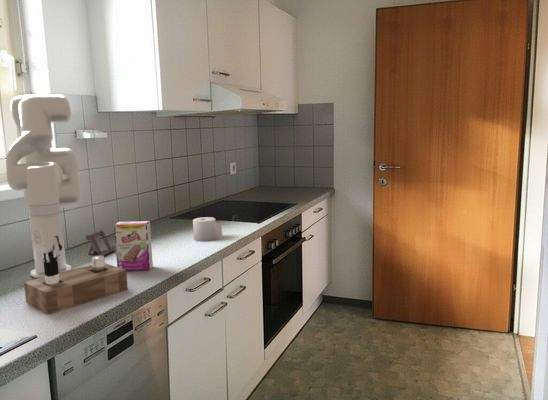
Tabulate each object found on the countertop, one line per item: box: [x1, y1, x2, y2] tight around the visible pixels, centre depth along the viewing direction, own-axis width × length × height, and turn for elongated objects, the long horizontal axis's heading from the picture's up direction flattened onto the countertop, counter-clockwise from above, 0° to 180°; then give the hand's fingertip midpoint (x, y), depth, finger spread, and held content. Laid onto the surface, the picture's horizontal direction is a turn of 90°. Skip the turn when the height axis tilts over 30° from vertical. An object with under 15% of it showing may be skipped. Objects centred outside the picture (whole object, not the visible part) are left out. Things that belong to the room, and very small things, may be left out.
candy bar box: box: [113, 220, 154, 272], centre depth 165 cm, size 11×5×16 cm, turn 92°
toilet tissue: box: [192, 216, 224, 243], centre depth 207 cm, size 9×13×9 cm
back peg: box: [91, 255, 106, 273], centre depth 146 cm, size 4×4×6 cm
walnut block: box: [23, 262, 128, 315], centre depth 141 cm, size 14×24×6 cm, turn 139°
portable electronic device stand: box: [85, 229, 116, 257], centre depth 187 cm, size 9×8×8 cm
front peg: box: [45, 273, 60, 286], centre depth 136 cm, size 4×4×6 cm
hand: (51, 274), depth 135 cm, fingers closed
